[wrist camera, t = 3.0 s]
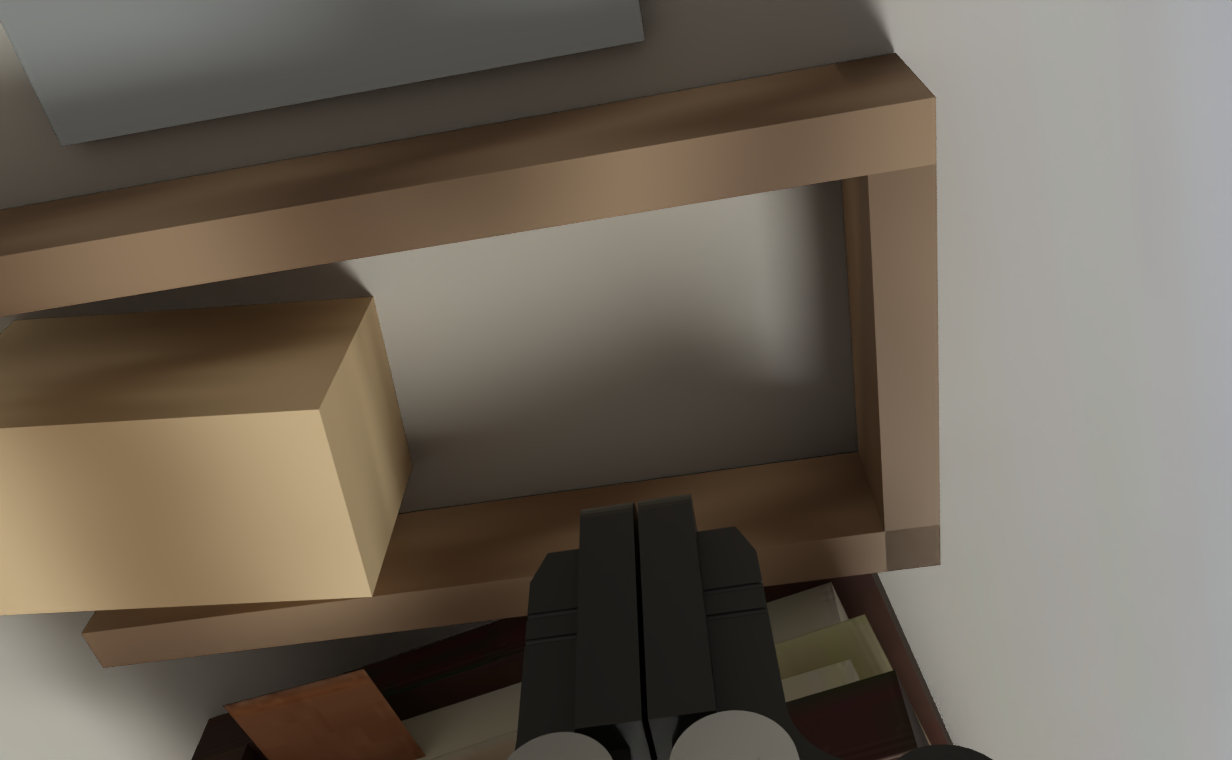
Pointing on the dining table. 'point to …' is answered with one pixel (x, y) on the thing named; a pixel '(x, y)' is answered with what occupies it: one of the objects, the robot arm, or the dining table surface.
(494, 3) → the rubber pad
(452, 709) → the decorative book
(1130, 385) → the dining table surface
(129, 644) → the shelf bay
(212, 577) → the block
